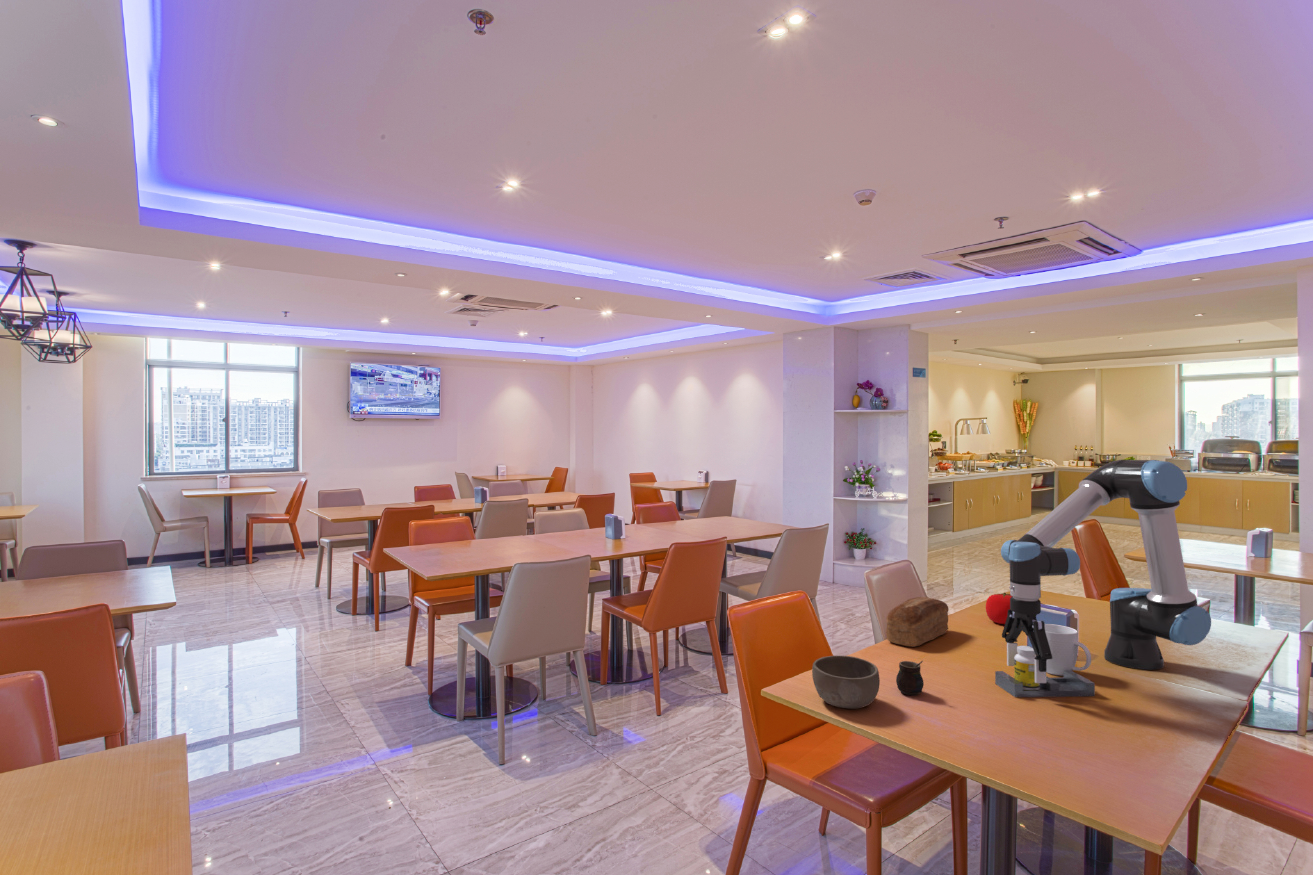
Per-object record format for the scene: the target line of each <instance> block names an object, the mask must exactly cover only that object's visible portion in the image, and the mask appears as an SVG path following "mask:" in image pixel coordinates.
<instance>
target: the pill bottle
mask: <svg viewBox="0 0 1313 875" xmlns="http://www.w3.org/2000/svg"><path fill="white" fill-rule="evenodd" d="M1017 652H1018V654H1016V655H1015V657H1014V666H1013V667H1014V668H1013V670H1014V675H1013V676H1014V677H1013V678H1015V679H1016V680H1018V681H1019V682H1021V683H1022V684H1023V690H1039V689H1040V683H1035V659H1034V658H1035V657H1036V654H1035V652H1034V649H1033V647H1032V646H1029V645H1018V647H1017Z"/></svg>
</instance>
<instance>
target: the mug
mask: <svg viewBox="0 0 1313 875" xmlns="http://www.w3.org/2000/svg"><path fill="white" fill-rule="evenodd" d="M1044 624H1045V632H1046V636H1047V639H1048V643H1049V647H1050V650H1051V654H1052V659H1047V661H1046V668H1047V670H1046V674H1051V675H1053V676H1061V677H1063V670H1071V671H1077V672H1078V671H1085V670H1087V669H1089V667H1090V666H1091V663H1092V655H1091V651H1090V650H1089V648H1088V647H1087V646H1086V645H1085V644H1084V643H1082V642H1080V641H1079V637H1078V636H1079V635H1078V634H1079V633H1078V631H1077V629H1075V628H1073V627H1069V626H1067V625H1065V626H1064V625H1059V624H1052V623H1044ZM1079 647H1080V648H1082V650H1083V652H1084V654H1085V656H1086V661H1085V663H1084V665H1083V666H1076V664H1077V659H1078V653H1079Z"/></svg>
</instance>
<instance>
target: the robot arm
mask: <svg viewBox="0 0 1313 875" xmlns="http://www.w3.org/2000/svg"><path fill="white" fill-rule="evenodd" d="M1187 491H1188V480H1187V478H1186V475H1185V473H1184V471H1183V470H1182V469H1181V468H1180V467H1179V466H1178V465H1176V464H1174V463H1172V462H1171V461H1166V460H1165V461H1163V460H1157V459H1148V460H1147V459H1118V460H1114V461H1111V462H1110V461H1109V462H1108V463H1106V464H1104V465H1102V466H1100V467H1099V468H1097V469H1095V470H1093V471H1092V472H1091V473H1089V474H1088V475H1087V476H1085V477H1084V478H1083V479H1081V481H1080V482H1079V483H1078V488H1077V489H1075V491H1074V492H1072V493H1071V494H1070V495H1069V496H1068V497H1067V498H1065V499H1064V500H1063V501H1062V502H1061V503H1060V504H1058V505H1057V506H1056V507H1054V509H1053V510H1052V511H1050V512H1049V513H1048V514H1047V515H1046V516H1044V517H1043V518H1042V519H1041V520H1040V521H1039V522H1037V523H1036V525H1034V526H1033V527H1032V528H1031V529H1029V530H1028V531H1027V532H1026V533H1025V534H1024V535H1022V536H1021V537H1020V538H1019V539H1009V540H1006V541H1005V542H1004V543H1003V544H1002V546H1001V548H1000V554H1001V557H1002V559H1003V560H1004V561H1005V562H1006V563H1007V564H1009V591H1010V592H1009V594H1010V595H1011V596H1013V597H1011V598H1010V609H1008V614H1007V619H1006V623H1005V624H1004V625H1003V630H1002V633H1001V637H1002V639H1004V640H1005V643H1006V665H1007V666H1008V667H1014V657H1015V655H1016V654H1018V652H1017V647H1018V646H1019V645H1018V644H1019V643H1018V638H1019V636H1020V635H1021V633H1024V634H1025V635H1026V636H1027V637H1028V639H1029V641H1030V644H1031V647H1033V649H1034V652H1035V654H1036V655H1035V656H1036V657H1035V658H1034V659H1035V683H1046V676H1047V672H1046V670H1047V668H1046V661H1047V659H1052V654H1051V650H1050V647H1049V643H1048V639H1047V636H1046V632H1045V624H1046V623H1045V621H1044V620H1038V619H1037V616H1038V615H1040V614H1041V612H1042V610H1041V609H1042V608H1041V605H1042V604H1041V600H1040V599H1041V598H1042V593H1041V592H1042V590H1041V588H1042V587H1041V581H1042V580H1041V579H1042V578H1041V577H1049V576H1050V577H1053V576H1064V577H1066V576H1069V575H1074V574H1076V573H1077V572H1078V571H1079V570H1080V567H1081V559H1080V556H1079V554H1078V553H1077V551H1075V550H1074V549H1072V548H1070V547H1069V548H1068V547H1059V548H1056V547H1055V545H1057V543H1058V542H1060V541H1061V540H1062V539H1063V538H1064V537H1066V536H1067V535H1068V534H1069V533H1070V532H1071V531H1073V530H1074V529H1075V528H1076V527H1077V526H1078V525H1080V524H1081V523H1082V522H1083V521H1084V520H1085V519H1086V518H1088V517H1089V516H1090V515H1091V514H1092V513H1093V512H1095V511H1096V510H1097V509H1098V508H1099V507H1100V506H1107V505H1108V504H1110V502H1112V501H1114V500H1117V499H1122V498H1123V499H1129V505H1130V508H1131V509H1132V510H1133V511H1135V512H1136V513H1138V515H1137V516H1138V521H1139V526H1140V532H1141V537H1142V538H1141V539H1142V541H1143V542H1142V544H1143V548H1144V555H1145V560H1146V565H1147V570H1148V571H1147V572H1148V577H1149V581H1150V582H1149V583H1150V587H1151V588H1146V587H1145V588H1144V587H1142V588H1141V587H1119V588H1118V587H1117V588H1114V589H1112V590H1111V592H1110V598H1109V599H1110V600H1109V610H1110V612H1109V614H1110V616H1109V617H1110V618H1109V619H1110V635H1109V638H1108V641H1107V644H1106V647H1105V649H1104V654H1103V655H1104V659H1105V660H1106V661H1108V662H1110V663H1112V664H1115V665H1118V666H1122V667H1126V668H1130V669H1131V668H1132V669H1136V670H1137V669H1138V670H1147V671H1148V670H1149V671H1150V670H1152V671H1153V670H1161V669H1163V668H1164V667H1165V662H1164V657H1163V654H1162V652H1161V649H1160V647H1159V644H1158V640H1157V637H1158V638H1161V639H1164V640H1167V641H1169V642H1173V643H1174V644H1181V645H1186V646H1194V645H1197V644H1200V643H1201V642H1202V641H1203V640H1204V641H1205V639H1206V638H1207V636H1208V635H1209V633H1210V632H1211V627H1212V616H1211V614H1210V613H1209V611H1207V609H1205V608H1204V607H1201V606H1199V605H1198V600H1197V595H1195V593H1193V592H1192V591H1191V590H1189V586H1188V580H1187V575H1186V571H1185V564H1184V559H1183V553H1182V547H1181V542H1180V536H1179V530H1178V523H1177V519H1176V512H1175V511H1176V510H1177V509H1178V507H1179V506H1181V503H1180V501H1181V500H1182V499H1184V497H1185V496H1186V492H1187Z"/></svg>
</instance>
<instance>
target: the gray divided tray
mask: <svg viewBox="0 0 1313 875" xmlns="http://www.w3.org/2000/svg"><path fill="white" fill-rule="evenodd" d="M994 673H995V679H994V681H995V685H997V686H998V687H1000V688H1001V689H1002V690H1004V691H1005V692H1007V693H1008V694H1009V695H1011V696H1012V697H1014V698H1048V697H1049V698H1051V697H1052V698H1056V697H1057V698H1058V697H1060V698H1061V697H1063V698H1065V697H1067V698H1069V697H1070V698H1071V697H1075V698H1076V697H1095V696H1096V691H1095V690H1096V689H1095V687H1096V685H1095V682H1093V681H1091V680H1090V679H1088V678H1086V677H1084V676H1082V675H1080V674H1079V673H1077V672H1074V670H1072V671H1071V670H1063V676H1061V677H1059V676H1058V677H1049V676H1047V675H1046V683H1040V689H1039V690H1023V684H1022V683H1021V682H1019V681H1018V680H1016V679H1015V677H1012V676H1011V675H1010V674H1008V673H1006V672H1005V671H1003V670H997V671H995V672H994Z"/></svg>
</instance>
